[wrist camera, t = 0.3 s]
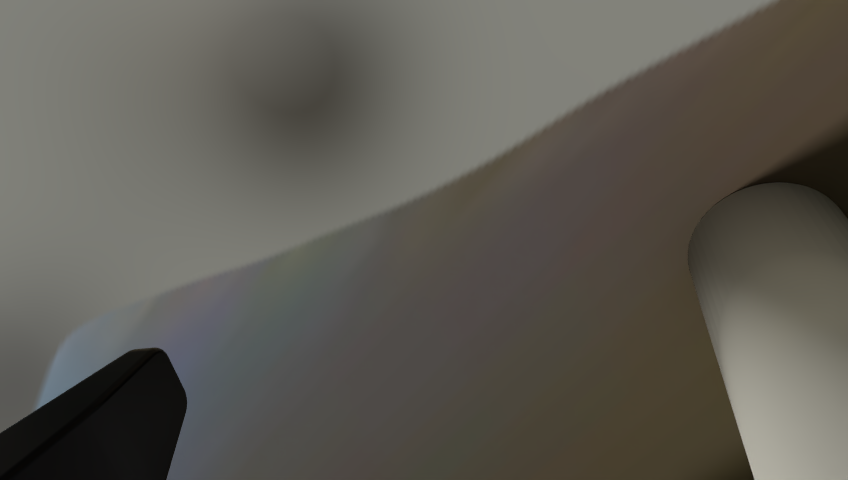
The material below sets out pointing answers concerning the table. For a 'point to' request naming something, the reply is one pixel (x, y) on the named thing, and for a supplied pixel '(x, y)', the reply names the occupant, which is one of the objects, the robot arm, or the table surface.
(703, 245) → the spice jar
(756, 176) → the table surface
